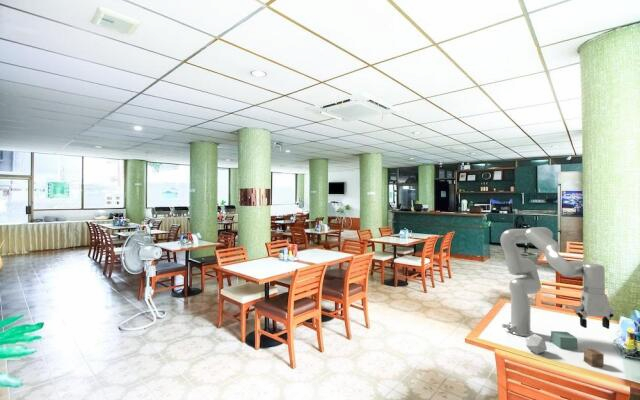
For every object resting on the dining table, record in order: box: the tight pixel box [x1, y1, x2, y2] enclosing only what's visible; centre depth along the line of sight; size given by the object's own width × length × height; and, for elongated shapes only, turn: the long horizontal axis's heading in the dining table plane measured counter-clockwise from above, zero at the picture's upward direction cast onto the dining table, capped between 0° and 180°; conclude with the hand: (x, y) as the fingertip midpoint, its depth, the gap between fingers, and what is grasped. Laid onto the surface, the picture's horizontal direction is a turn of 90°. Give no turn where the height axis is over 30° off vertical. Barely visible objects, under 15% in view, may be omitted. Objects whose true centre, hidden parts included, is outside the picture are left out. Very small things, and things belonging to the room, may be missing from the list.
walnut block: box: [583, 348, 605, 368], centre depth 148 cm, size 5×5×6 cm
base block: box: [550, 330, 578, 350], centre depth 167 cm, size 8×8×6 cm
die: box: [524, 333, 547, 355], centre depth 159 cm, size 8×9×10 cm
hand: (594, 327), depth 147 cm, fingers open, 9 cm apart
